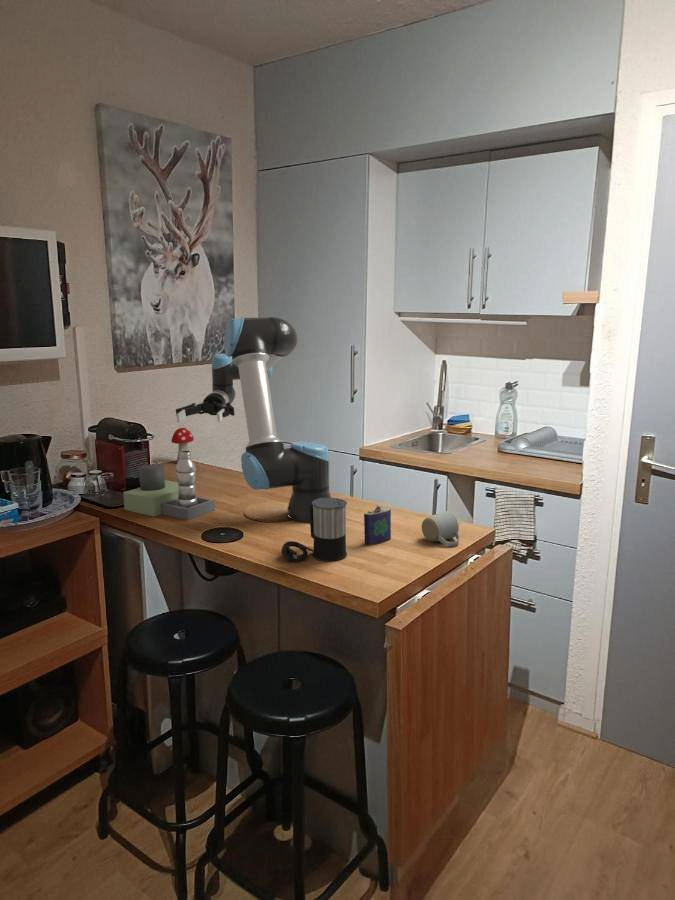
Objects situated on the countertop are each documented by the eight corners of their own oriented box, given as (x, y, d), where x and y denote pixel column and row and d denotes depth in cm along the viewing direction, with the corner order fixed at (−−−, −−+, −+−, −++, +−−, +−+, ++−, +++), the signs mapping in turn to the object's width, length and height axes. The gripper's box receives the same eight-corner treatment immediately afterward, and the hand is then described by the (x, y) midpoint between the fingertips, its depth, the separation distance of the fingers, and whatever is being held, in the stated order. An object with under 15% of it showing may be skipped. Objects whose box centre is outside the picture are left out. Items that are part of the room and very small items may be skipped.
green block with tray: (221, 507, 222) (219, 469, 219) (181, 522, 207) (178, 482, 204) (165, 496, 236) (163, 460, 233) (124, 509, 221) (121, 471, 218)
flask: (387, 536, 193) (387, 500, 190) (393, 539, 190) (394, 503, 188) (362, 544, 187) (362, 507, 185) (369, 546, 185) (368, 509, 183)
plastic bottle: (196, 508, 222) (193, 448, 218) (199, 514, 216) (196, 453, 212) (176, 510, 220) (173, 450, 215) (179, 516, 213) (176, 454, 209)
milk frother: (354, 555, 179) (354, 501, 176) (312, 572, 168) (311, 515, 165) (316, 543, 188) (315, 492, 185) (274, 558, 177) (272, 504, 174)
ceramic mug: (419, 538, 191) (419, 512, 189) (440, 533, 195) (441, 507, 193) (444, 550, 182) (445, 523, 180) (466, 544, 187) (467, 517, 185)
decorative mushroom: (184, 459, 293) (182, 425, 290) (199, 461, 289) (197, 426, 286) (168, 463, 285) (165, 429, 281) (183, 466, 280) (181, 430, 277)
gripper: (250, 412, 240) (236, 428, 220) (183, 413, 243) (162, 429, 223) (249, 391, 238) (234, 406, 218) (180, 393, 241) (160, 407, 221)
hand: (198, 418), depth 220 cm, fingers open, 13 cm apart
